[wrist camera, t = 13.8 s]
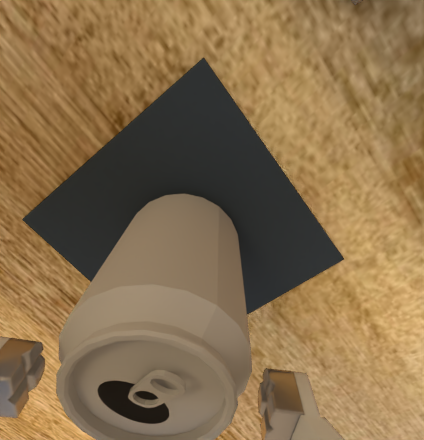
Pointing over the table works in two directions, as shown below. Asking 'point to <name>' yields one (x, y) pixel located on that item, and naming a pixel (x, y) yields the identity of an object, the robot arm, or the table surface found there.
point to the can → (160, 330)
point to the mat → (190, 189)
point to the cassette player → (356, 1)
